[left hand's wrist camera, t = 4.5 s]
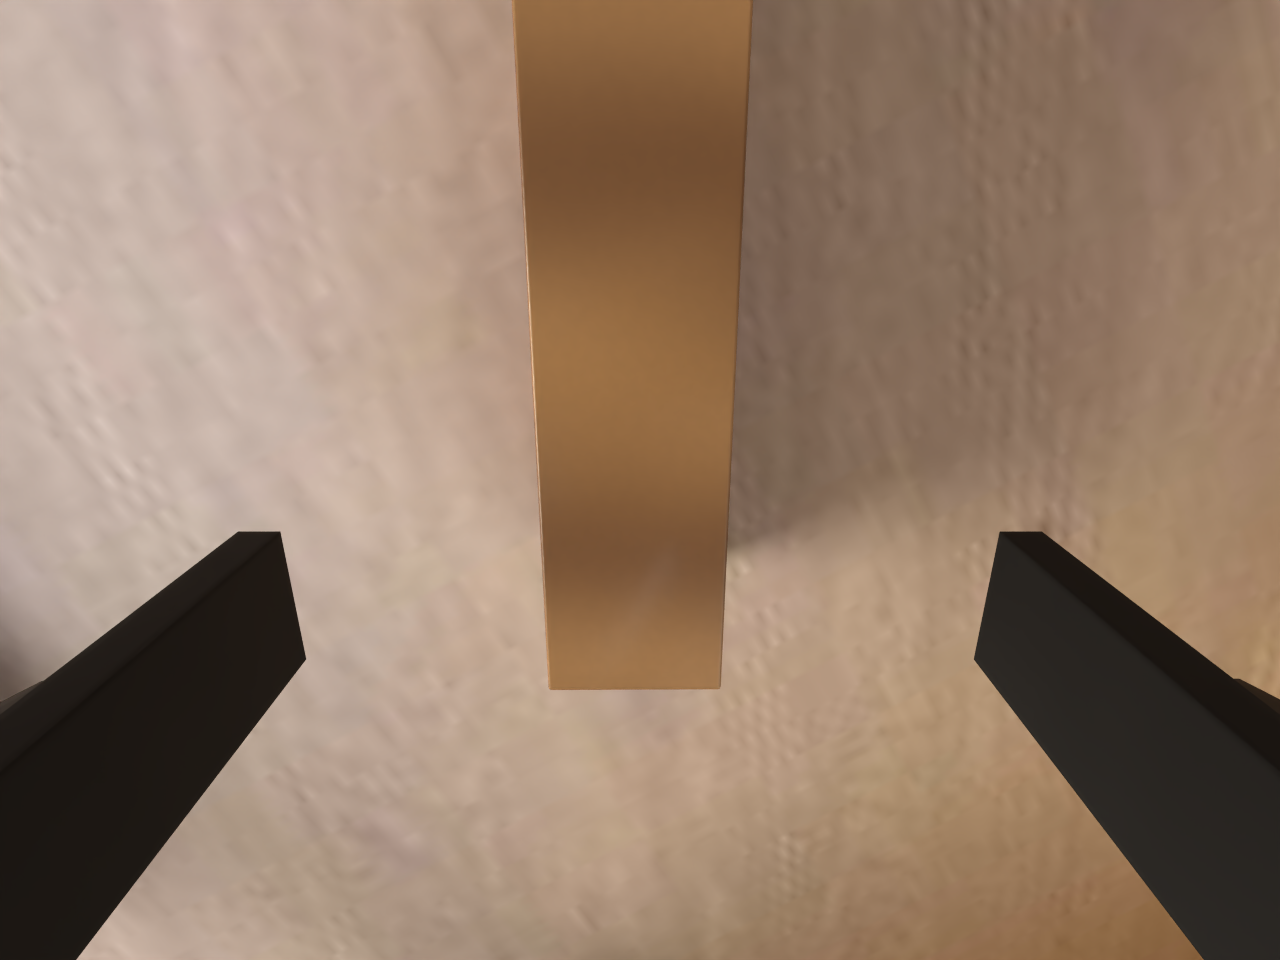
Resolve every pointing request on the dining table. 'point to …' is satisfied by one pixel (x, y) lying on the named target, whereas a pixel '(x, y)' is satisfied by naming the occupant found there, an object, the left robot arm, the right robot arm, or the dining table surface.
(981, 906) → the dining table surface
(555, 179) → the post
